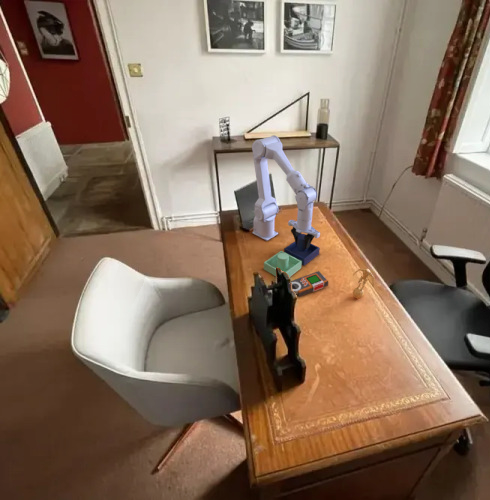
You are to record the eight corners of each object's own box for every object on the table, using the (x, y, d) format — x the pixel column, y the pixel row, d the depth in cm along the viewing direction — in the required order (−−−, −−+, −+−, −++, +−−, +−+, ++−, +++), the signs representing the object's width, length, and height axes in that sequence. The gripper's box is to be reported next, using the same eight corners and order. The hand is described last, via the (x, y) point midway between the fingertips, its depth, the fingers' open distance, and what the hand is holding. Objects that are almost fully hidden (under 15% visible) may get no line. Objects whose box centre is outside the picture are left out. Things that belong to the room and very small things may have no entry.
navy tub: (283, 255, 134) (284, 248, 132) (299, 244, 140) (299, 238, 138) (303, 266, 128) (304, 259, 126) (319, 254, 135) (319, 247, 133)
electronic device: (285, 282, 116) (319, 269, 122) (285, 288, 118) (319, 275, 123) (293, 294, 112) (329, 280, 117) (293, 300, 113) (328, 286, 119)
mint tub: (263, 269, 126) (263, 262, 124) (281, 257, 133) (281, 250, 131) (284, 281, 120) (284, 274, 118) (301, 268, 127) (301, 261, 125)
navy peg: (294, 248, 132) (295, 237, 129) (301, 244, 135) (302, 232, 131) (303, 253, 130) (304, 241, 126) (309, 248, 133) (310, 236, 129)
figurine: (344, 293, 116) (349, 268, 109) (353, 286, 119) (359, 261, 112) (364, 305, 111) (370, 280, 104) (373, 297, 115) (380, 272, 108)
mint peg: (274, 268, 126) (275, 256, 122) (282, 263, 129) (282, 251, 125) (283, 272, 124) (283, 260, 120) (290, 267, 126) (291, 255, 123)
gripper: (283, 214, 125) (282, 242, 133) (313, 227, 117) (310, 257, 125) (294, 208, 129) (293, 235, 137) (324, 220, 122) (320, 249, 130)
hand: (302, 245), depth 131 cm, fingers closed on navy peg, 4 cm apart
